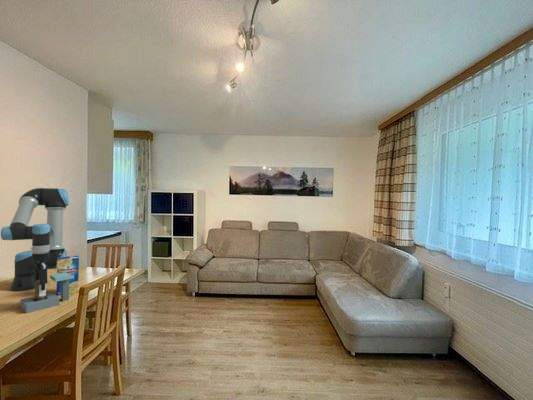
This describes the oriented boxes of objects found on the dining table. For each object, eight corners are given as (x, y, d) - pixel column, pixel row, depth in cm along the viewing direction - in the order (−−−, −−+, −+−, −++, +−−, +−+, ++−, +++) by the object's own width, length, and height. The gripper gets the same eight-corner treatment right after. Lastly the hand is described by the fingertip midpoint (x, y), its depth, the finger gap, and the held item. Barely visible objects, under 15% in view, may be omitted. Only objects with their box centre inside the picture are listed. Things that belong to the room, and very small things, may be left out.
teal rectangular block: (49, 300, 157) (50, 274, 157) (65, 297, 163) (65, 272, 163) (54, 305, 152) (55, 278, 152) (70, 301, 158) (71, 275, 158)
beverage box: (78, 292, 171) (79, 257, 171) (56, 296, 165) (56, 259, 164) (77, 289, 177) (78, 255, 176) (56, 292, 170) (57, 257, 170)
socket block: (20, 306, 148) (20, 299, 148) (52, 299, 159) (52, 292, 159) (26, 313, 141) (26, 305, 141) (59, 304, 152) (59, 297, 152)
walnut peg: (33, 305, 150) (34, 280, 149) (43, 303, 153) (44, 278, 153) (35, 308, 147) (36, 282, 147) (46, 305, 151) (46, 280, 150)
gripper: (26, 250, 153) (26, 291, 153) (37, 256, 141) (36, 300, 141) (43, 248, 159) (43, 288, 159) (55, 254, 147) (54, 296, 147)
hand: (40, 294), depth 150 cm, fingers open, 7 cm apart
